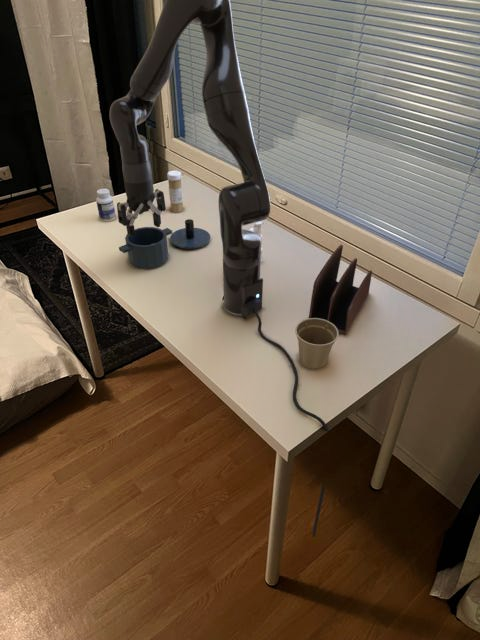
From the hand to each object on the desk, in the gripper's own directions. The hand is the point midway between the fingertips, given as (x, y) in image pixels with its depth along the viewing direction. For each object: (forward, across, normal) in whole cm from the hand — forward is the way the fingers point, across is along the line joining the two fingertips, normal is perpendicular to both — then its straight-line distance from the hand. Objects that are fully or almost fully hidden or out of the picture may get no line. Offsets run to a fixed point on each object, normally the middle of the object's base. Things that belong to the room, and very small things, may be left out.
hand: (144, 231), depth 142 cm
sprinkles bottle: (+9, -26, -20) cm, 34 cm away
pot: (+9, 0, 0) cm, 9 cm away
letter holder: (+10, -22, +54) cm, 59 cm away
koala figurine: (+10, -22, +22) cm, 33 cm away
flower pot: (+10, -2, +62) cm, 63 cm away
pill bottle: (+9, -5, -31) cm, 33 cm away
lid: (+9, -16, 0) cm, 18 cm away
